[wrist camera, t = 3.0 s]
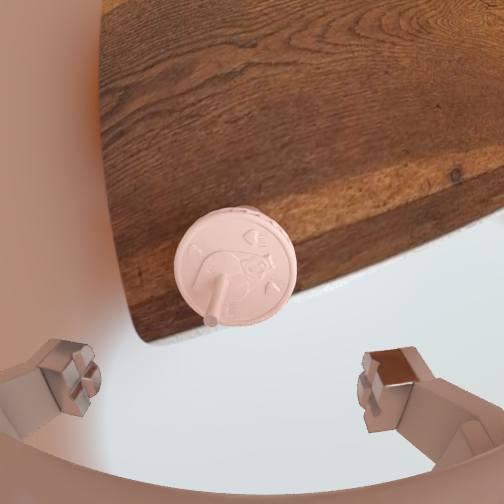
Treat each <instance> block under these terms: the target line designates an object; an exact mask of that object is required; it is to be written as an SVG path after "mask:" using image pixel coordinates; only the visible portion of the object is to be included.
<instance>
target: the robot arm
mask: <svg viewBox="0 0 504 504" xmlns="http://www.w3.org/2000/svg"><path fill="white" fill-rule="evenodd" d="M94 357H95V355H94V352H93V350H92V347H90V346H89V345H88V344H82V343H76V342H70V341H63V340H59V339H49V340H48V341H47V342H46V343H45V344H44V345H43V346H42V347H41V348H40V349H39V350H38V351H37V352H36V353H35V354H34V355H33V357H32V358H30V359H29V361H27V362H26V364H25V363H21V364H18V365H16V366H13V367H11V368H8V369H6V370H3V371H1V372H0V504H504V411H503V409H502V408H500V407H498V406H496V405H494V404H492V403H489V402H488V401H486V400H484V399H482V398H480V397H478V396H475V395H473V394H471V393H469V392H467V391H465V390H463V389H461V388H459V387H457V386H455V385H453V384H451V383H449V382H447V381H445V380H443V379H441V378H437V379H436V378H435V377H434V375H433V374H432V372H431V370H430V369H429V367H428V366H427V364H426V363H425V361H424V360H423V358H422V357H421V355H420V354H419V353H418V351H417V349H416V348H415V347H413V346H410V347H404V348H398V349H393V350H384V351H374V352H365V354H364V356H363V360H362V366H363V369H364V371H363V372H362V373H361V374H360V375H359V379H358V384H357V395H358V400H359V404H360V406H361V407H363V408H364V409H365V413H364V420H365V423H366V426H367V429H368V432H369V433H373V432H381V431H388V430H394V429H397V432H399V433H400V434H401V435H402V436H403V437H404V438H406V439H407V440H408V441H409V442H410V443H412V444H413V445H414V446H415V447H416V448H418V449H419V450H420V451H421V452H422V453H424V454H425V455H426V456H427V457H428V458H430V459H431V460H432V461H433V462H434V463H436V465H435V466H434V468H433V469H432V471H430V472H427V473H423V474H419V475H416V476H412V477H408V478H404V479H400V480H395V481H390V482H386V483H381V484H376V485H371V486H365V487H358V488H352V489H345V490H337V491H328V492H319V493H305V494H285V495H245V494H226V493H212V492H202V491H193V490H185V489H178V488H171V487H166V486H160V485H154V484H149V483H144V482H140V481H135V480H131V479H126V478H122V477H118V476H114V475H110V474H107V473H103V472H100V471H97V470H93V469H90V468H87V467H84V466H80V465H78V464H75V463H71V462H69V461H66V460H63V459H61V458H58V457H55V456H53V455H50V454H48V453H45V452H43V451H40V450H38V449H35V448H33V447H31V446H29V445H27V444H24V442H23V440H22V439H24V438H26V437H27V436H29V435H30V434H32V433H33V432H35V431H36V430H38V429H39V428H41V427H42V426H44V425H45V424H47V423H48V422H50V421H51V420H53V419H54V418H55V417H57V416H58V415H60V414H61V412H63V413H66V414H70V415H74V416H79V417H83V416H84V414H85V412H86V411H87V409H88V407H89V406H90V404H91V403H90V398H91V397H93V396H95V395H96V394H97V393H98V391H99V389H100V385H101V373H100V370H99V367H98V366H97V365H96V364H95V363H94V362H93V359H94Z"/></svg>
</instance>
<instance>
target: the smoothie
mask: <svg viewBox="0 0 504 504" xmlns="http://www.w3.org/2000/svg"><path fill="white" fill-rule="evenodd" d="M296 265H297V261H296V256H295V251H294V247H293V245H292V243H291V241H290V239H289V237H288V235H287V234H286V232H285V231H284V230H283V229H282V228H281V227H280V226H279V225H278V224H277V223H276V222H275V221H274V220H272V219H271V218H269V217H267V216H266V215H264V214H263V213H262V212H261V211H260V210H258V209H257V208H255V207H252V206H248V205H242V206H238V207H235V208H230V207H228V208H224V209H220V210H216V211H212V212H210V213H208V214H207V215H205V216H203V217H201V218H199V219H198V220H197V221H196V222H195V223H194V224H193V225H192V226H191V227H190V228H189V229H188V230H187V232H186V234H185V235H184V237H183V238H182V240H181V242H180V243H179V246H178V248H177V251H176V255H175V260H174V274H175V280H176V283H177V286H178V289H179V291H180V293H181V295H182V297H183V298H184V299H185V301H186V302H187V303H188V305H189V306H190V307H191V308H192V309H193V310H194V311H196V312H197V313H198V314H200V315H201V316H203V317H204V323H205V325H207V326H209V327H214V326H216V325H217V324H221V325H226V326H249V325H253V324H256V323H260V322H262V321H264V320H266V319H268V318H270V317H272V316H273V315H274V314H276V313H277V312H278V311H279V310H280V309H281V308H282V307H283V306H284V305H285V304H286V302H287V301H288V299H289V298H290V296H291V294H292V292H293V289H294V286H295V282H296V276H297V267H296Z"/></svg>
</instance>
